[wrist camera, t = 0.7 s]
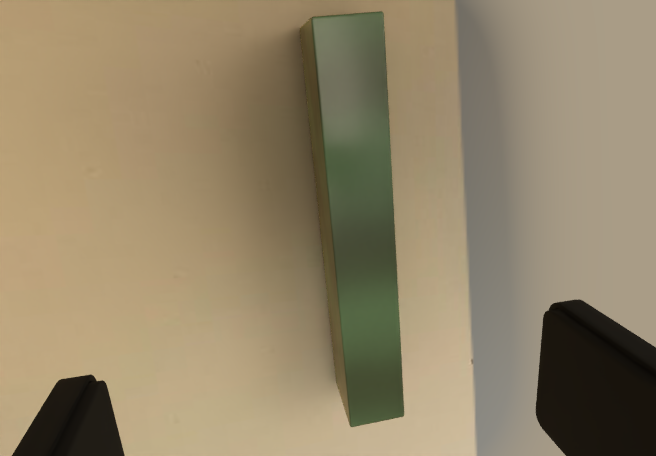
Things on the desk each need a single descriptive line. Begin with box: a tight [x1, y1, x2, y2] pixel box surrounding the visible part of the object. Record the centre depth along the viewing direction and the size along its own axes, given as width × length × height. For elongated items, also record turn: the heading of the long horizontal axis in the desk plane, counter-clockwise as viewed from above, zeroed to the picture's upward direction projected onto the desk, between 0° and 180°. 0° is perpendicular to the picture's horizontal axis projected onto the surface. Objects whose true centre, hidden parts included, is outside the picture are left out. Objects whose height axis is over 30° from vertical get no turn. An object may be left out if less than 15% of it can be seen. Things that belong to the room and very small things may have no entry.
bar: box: [300, 11, 404, 427], centre depth 24 cm, size 20×3×4 cm, turn 5°
